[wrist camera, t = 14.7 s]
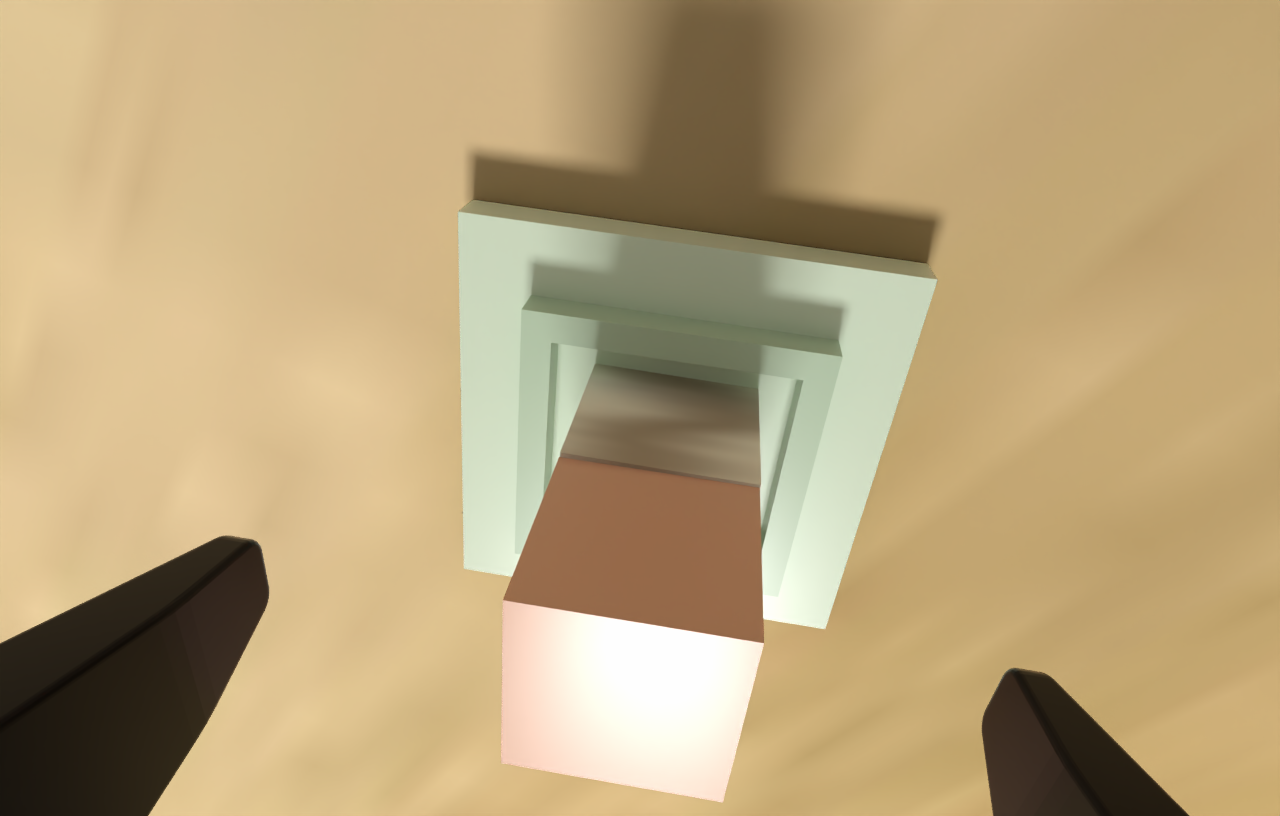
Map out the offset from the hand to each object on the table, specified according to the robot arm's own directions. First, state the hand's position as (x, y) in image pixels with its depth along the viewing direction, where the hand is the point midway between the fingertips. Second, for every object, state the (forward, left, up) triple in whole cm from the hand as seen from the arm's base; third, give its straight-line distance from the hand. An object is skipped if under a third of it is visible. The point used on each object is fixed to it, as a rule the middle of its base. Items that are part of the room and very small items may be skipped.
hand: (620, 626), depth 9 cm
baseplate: (0, +5, -13) cm, 14 cm away
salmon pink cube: (0, +5, -7) cm, 9 cm away
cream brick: (0, +5, -12) cm, 13 cm away
